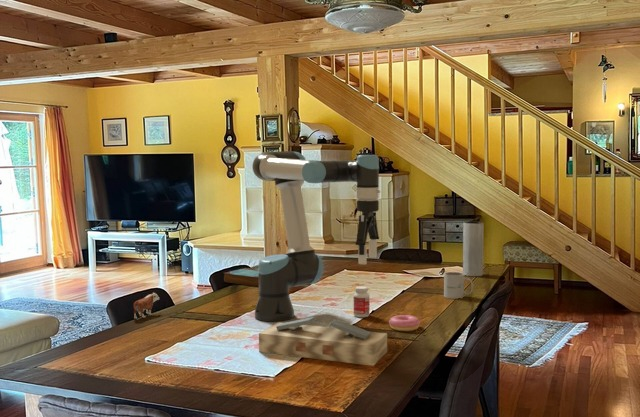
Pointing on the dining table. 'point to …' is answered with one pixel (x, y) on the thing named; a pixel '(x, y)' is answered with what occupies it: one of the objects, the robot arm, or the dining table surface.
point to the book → (243, 277)
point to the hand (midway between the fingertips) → (367, 260)
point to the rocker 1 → (295, 323)
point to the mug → (455, 285)
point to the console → (323, 344)
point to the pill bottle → (361, 302)
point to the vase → (473, 248)
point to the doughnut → (404, 323)
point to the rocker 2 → (350, 329)
